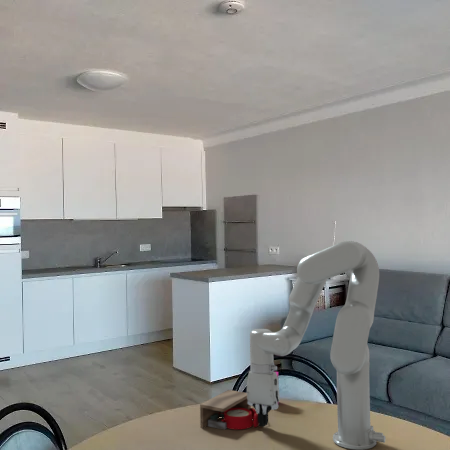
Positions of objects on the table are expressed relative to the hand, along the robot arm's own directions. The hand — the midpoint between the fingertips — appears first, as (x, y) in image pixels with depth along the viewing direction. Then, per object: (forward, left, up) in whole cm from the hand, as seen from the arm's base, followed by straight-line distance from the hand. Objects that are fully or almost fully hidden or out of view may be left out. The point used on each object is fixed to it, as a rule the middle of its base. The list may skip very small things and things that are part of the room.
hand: (263, 425), depth 156 cm
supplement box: (+8, -23, -1) cm, 25 cm away
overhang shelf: (+14, 0, -1) cm, 14 cm away
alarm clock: (+8, -1, -2) cm, 8 cm away
